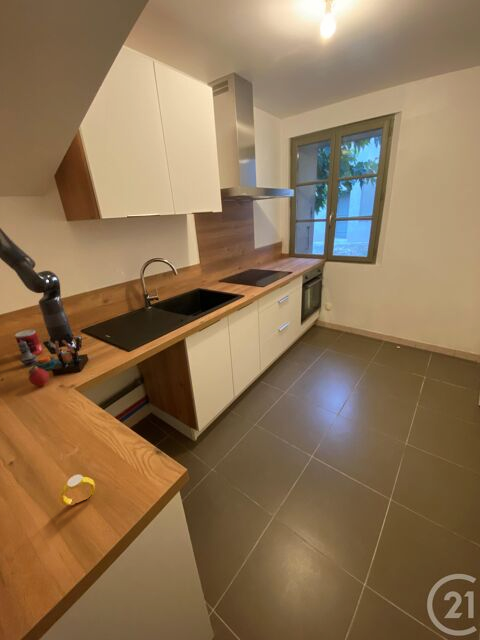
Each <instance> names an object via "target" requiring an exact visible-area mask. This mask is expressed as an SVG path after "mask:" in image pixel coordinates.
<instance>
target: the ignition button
mask: <svg viewBox="0 0 480 640" xmlns="http://www.w3.org/2000/svg"><path fill="white" fill-rule="evenodd" d="M50 357H51V356H49V355H45V356H42V357H40V358H39V360H40V363H46V362H49V361H50V360H51V359H50ZM39 360H38V361H39Z"/></svg>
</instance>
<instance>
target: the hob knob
mask: <svg viewBox="0 0 480 640" xmlns="http://www.w3.org/2000/svg"><path fill="white" fill-rule="evenodd" d="M61 356H62V359H63V362H64V364H70V363H73V362H74V358H73V355H72V352H71V351H70V349H68V348H67V349H65V350H62V352H61Z"/></svg>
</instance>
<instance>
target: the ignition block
mask: <svg viewBox="0 0 480 640" xmlns="http://www.w3.org/2000/svg"><path fill="white" fill-rule="evenodd" d="M49 357H50V359H51V360H50V361H49V362H46V363H40V360H37V361H38V362H37V363H36V365H34V366H32V368H31V369H30V370H29V371H28V372H29V375H30V374H31V372H32V371H33V370H34V368H35V367H38V368H39V369H44V370H46V371H47V372H52V368H53V367H54V366H55V365H56V364H57V363H58V362H59V359H58V358H55V357H54V356H49Z"/></svg>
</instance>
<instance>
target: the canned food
mask: <svg viewBox="0 0 480 640" xmlns="http://www.w3.org/2000/svg"><path fill="white" fill-rule="evenodd" d="M14 338H15V340H16V343H17V344H18V343H19V342H20V340H22V341H25V342H26V343H27V346H28V347H29V348H30V349H29V350H30V352H31V354H36V357H37V356H39V355H41V354H42V353H43V347H42V345H41V342H40V339H39V337H38V334H37V331H36V329H26V330H22V331H18V332H17V333H15V334H14Z"/></svg>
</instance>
